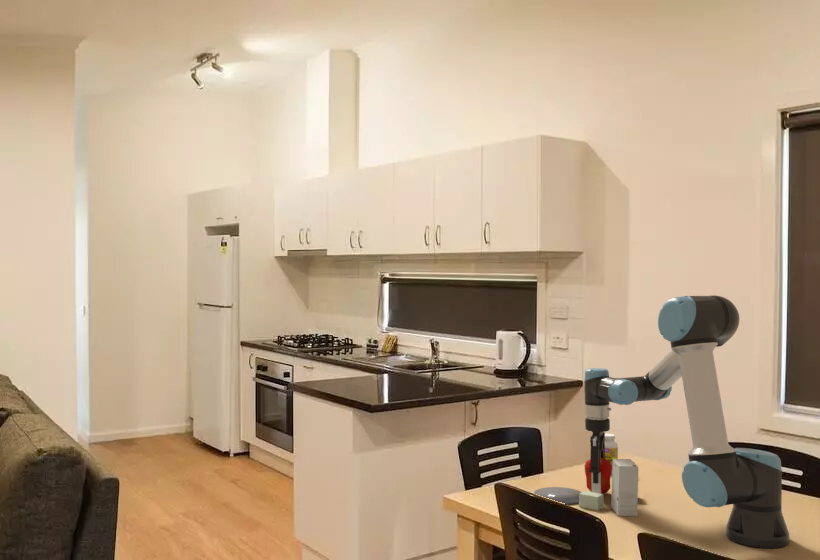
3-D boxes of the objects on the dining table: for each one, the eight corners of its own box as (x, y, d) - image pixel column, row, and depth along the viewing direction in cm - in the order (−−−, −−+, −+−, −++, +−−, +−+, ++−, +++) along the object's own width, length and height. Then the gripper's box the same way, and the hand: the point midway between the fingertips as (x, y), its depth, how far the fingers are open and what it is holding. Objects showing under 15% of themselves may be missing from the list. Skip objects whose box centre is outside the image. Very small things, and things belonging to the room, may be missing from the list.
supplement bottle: (598, 472, 270) (597, 436, 270) (598, 468, 277) (598, 432, 277) (617, 473, 269) (617, 437, 268) (618, 469, 275) (617, 433, 275)
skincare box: (610, 507, 230) (610, 458, 230) (631, 507, 230) (630, 458, 230) (618, 516, 222) (617, 465, 222) (639, 516, 222) (638, 465, 222)
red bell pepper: (595, 487, 249) (595, 450, 249) (618, 492, 243) (617, 454, 243) (579, 492, 244) (578, 454, 244) (601, 497, 237) (601, 459, 237)
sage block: (597, 510, 228) (597, 497, 228) (579, 507, 232) (578, 493, 232) (603, 507, 231) (603, 494, 231) (584, 503, 235) (584, 490, 235)
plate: (578, 506, 232) (578, 502, 232) (529, 501, 237) (529, 497, 237) (586, 493, 245) (586, 489, 245) (540, 488, 251) (540, 485, 251)
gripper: (604, 424, 232) (605, 499, 232) (613, 412, 252) (615, 482, 252) (579, 422, 235) (580, 497, 235) (590, 411, 255) (591, 480, 255)
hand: (598, 489), depth 243 cm, fingers closed on red bell pepper, 9 cm apart
